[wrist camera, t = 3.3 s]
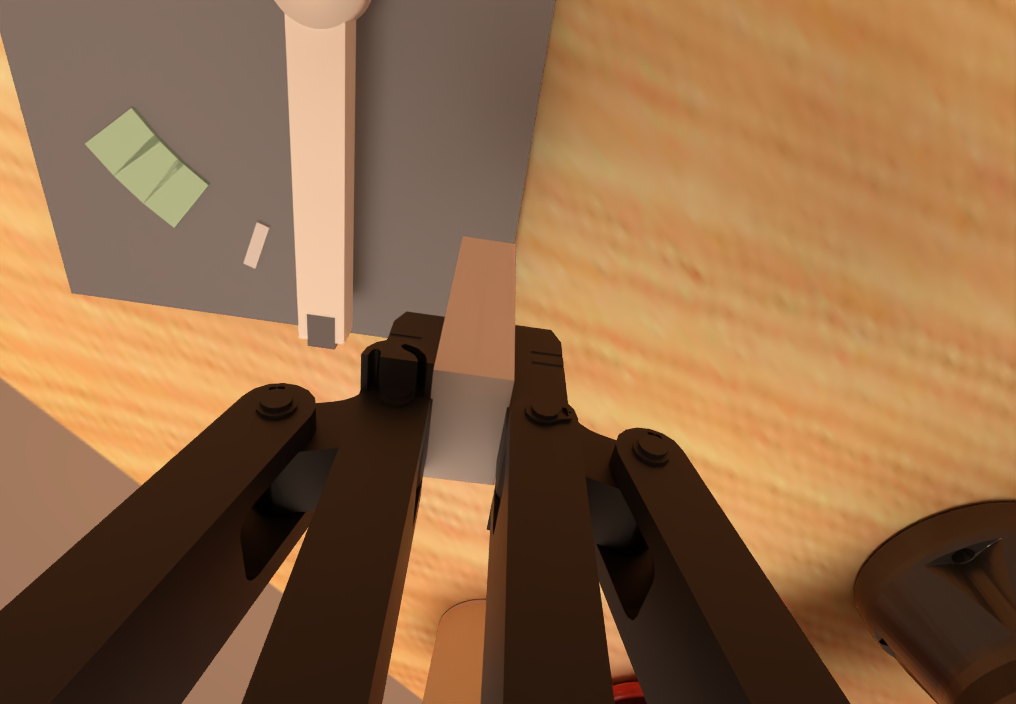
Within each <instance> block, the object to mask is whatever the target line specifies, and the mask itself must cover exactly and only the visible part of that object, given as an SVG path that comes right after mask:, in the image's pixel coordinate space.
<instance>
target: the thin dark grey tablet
mask: <svg viewBox="0 0 1016 704" xmlns="http://www.w3.org/2000/svg"><path fill="white" fill-rule="evenodd" d="M554 6H555V0H371V2H370V4H369V7H368V8H367V10H366V11H365V12H364V13H363V15H362V16H361V17H359V18H358V19H357V20H356V74H355V156H354V239H353V321H352V330H351V332H350V333H356V334H363V335H370V336H378V337H385V338H388V336H389V334H390V331H391V328H392V325H393V322H394V321H395V320H396V319H397V318H398V317H400V316H401V315H402V314H404V313H405V312H406V311H408V312H415V313H422V314H429V315H436V316H443V317H445V315H446V310H447V306H448V301H449V297H450V292H451V288H452V283H453V278H454V274H455V269H456V265H457V260H458V256H459V251H460V246H461V242H462V237H463V236H466V237H472V238H479V239H486V240H492V241H499V242H506V243H512V244H515V238H516V232H517V226H518V220H519V214H520V208H521V202H522V196H523V191H524V185H525V179H526V173H527V167H528V161H529V155H530V149H531V143H532V137H533V131H534V125H535V119H536V113H537V107H538V101H539V95H540V89H541V83H542V78H543V72H544V66H545V60H546V54H547V48H548V42H549V36H550V30H551V24H552V18H553V12H554ZM0 33H1V37H2V41H3V44H4V48H5V52H6V55H7V59H8V63H9V66H10V70H11V74H12V77H13V81H14V84H15V88H16V92H17V95H18V99H19V103H20V106H21V110H22V114H23V117H24V121H25V125H26V128H27V132H28V136H29V139H30V143H31V147H32V150H33V154H34V157H35V161H36V165H37V168H38V172H39V176H40V179H41V183H42V187H43V190H44V194H45V198H46V201H47V205H48V209H49V212H50V216H51V220H52V223H53V227H54V231H55V234H56V238H57V241H58V245H59V249H60V252H61V256H62V260H63V263H64V267H65V271H66V274H67V278H68V282H69V285H70V289H71V293H75V294H82V295H89V296H96V297H103V298H110V299H117V300H124V301H131V302H138V303H145V304H152V305H159V306H166V307H173V308H180V309H187V310H194V311H201V312H208V313H215V314H223V315H230V316H237V317H244V318H251V319H258V320H265V321H272V322H279V323H286V324H293V325H298V305H297V282H296V260H295V237H294V215H293V193H292V170H291V148H290V125H289V103H288V81H287V58H286V36H285V14H284V12H283V11H282V10H281V9H280V7H279V6H278V5H277V4H276V2H275V1H274V0H0Z"/></svg>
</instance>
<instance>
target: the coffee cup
mask: <svg viewBox="0 0 1016 704" xmlns="http://www.w3.org/2000/svg"><path fill="white" fill-rule="evenodd" d="M485 614H486V600H485V599H483V600H471V601H467V602H463V603H460V604H458V605H456V606H454V607H452V608H451V609H449V610H448V611H447V612H446V613H445V614H444V615H443V617H442V619H441V621H440V623H439V628H438V632H437V636H436V640H435V645H434V650H433V655H432V659H431V664H430V669H429V674H428V679H427V683H426V688H425V693H424V698H423V703H422V704H481V686H482V668H483V650H484V632H485Z"/></svg>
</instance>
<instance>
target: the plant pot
mask: <svg viewBox="0 0 1016 704" xmlns="http://www.w3.org/2000/svg"><path fill="white" fill-rule="evenodd" d="M612 687H613V694H614V702H615V704H647V702H646V700H645V697H644V695H643V692H642V690H641V687H640V685H639V682H627V683H621V684H617V685H613V686H612Z"/></svg>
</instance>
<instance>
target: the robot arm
mask: <svg viewBox="0 0 1016 704" xmlns="http://www.w3.org/2000/svg"><path fill="white" fill-rule="evenodd" d="M515 285H516V244H512V243H506V242H499V241H492V240H486V239H479V238H472V237H466V236H463V237H462V242H461V246H460V251H459V256H458V260H457V265H456V269H455V274H454V278H453V283H452V288H451V292H450V297H449V301H448V306H447V310H446V315H445V317H443V316H436V315H429V314H422V313H415V312H408V311H406V312H405V313H404V314H402V315H401V316H400V317H398V318H397V319H396V320H395V321H394V322H393V325H392V328H391V331H390V334H389V336H388V339H387V340H385V341H380V342H376V343H374V344H372V345H370V346H368V347H367V348H366V349H365V350H364V351H363V353H362V354H361V391H360V393H359V395H357V396H355V397H352V398H349V399H346V400H341V401H335V402H325V403H315V398H314V396H313V395H312V394H311V393H310V392H309V391H308V390H306V389H304V388H302V387H300V386H298V385H292V384H286V383H279V384H268V385H264V386H261V387H258V388H255V389H253V390H251V391H250V392H248V393H247V394H245V395H243V396H242V397H241V398H240V399H239V400H238V401H237V402H235V403H234V404H233V405H232V406H231V407H230V408H229V409H228V410H226V411H225V412H224V413H223V414H222V415H221V416H220V417H218V418H217V419H216V420H215V421H214V422H213V423H212V424H211V425H209V426H208V427H207V428H206V429H205V430H204V431H203V432H202V433H200V434H199V435H198V436H197V437H196V438H195V439H194V440H193V441H191V442H190V443H189V444H188V445H187V446H186V447H185V448H183V449H182V450H181V451H180V452H179V453H178V454H177V455H176V456H174V457H173V458H172V459H171V460H170V461H169V462H168V463H167V464H165V465H164V466H163V467H162V468H161V469H160V470H159V471H158V472H156V473H155V474H154V475H153V476H152V477H151V478H150V479H148V480H147V481H146V482H145V483H144V484H143V485H142V486H141V487H139V488H138V489H137V490H136V491H135V492H134V493H133V494H132V495H130V496H129V497H128V498H127V499H126V500H125V501H124V502H123V503H121V504H120V505H119V506H118V507H117V508H116V509H115V510H113V511H112V512H111V513H110V514H109V515H108V516H107V517H106V518H105V519H103V520H102V521H101V522H100V523H99V524H98V525H97V526H95V527H94V528H93V529H92V530H91V531H90V532H89V533H88V534H86V535H85V536H84V537H83V538H82V539H81V540H80V541H78V542H77V543H76V544H75V545H74V546H73V547H72V548H71V549H69V550H68V551H67V552H66V553H65V554H64V555H63V556H62V557H61V558H59V559H58V560H57V561H56V562H55V563H54V564H53V565H51V566H50V567H49V568H48V569H47V570H46V571H45V572H43V573H42V574H41V575H40V576H39V577H38V578H37V579H36V580H34V581H33V582H32V583H31V584H30V585H29V586H28V587H27V588H25V589H24V590H23V591H22V592H21V593H20V594H19V595H18V596H16V597H15V598H14V599H13V600H12V601H11V602H10V603H9V604H7V605H6V606H5V607H4V608H3V609H2V610H1V611H0V704H182V702H183V701H184V699H185V698H186V697H187V695H188V694H189V693H190V691H191V690H192V688H193V687H194V685H195V684H196V683H197V681H198V680H199V678H200V677H201V676H202V674H203V673H204V672H205V670H206V669H207V667H208V666H209V665H210V663H211V662H212V660H213V659H214V657H215V656H216V655H217V654H218V652H219V651H220V649H221V648H222V647H223V645H224V644H225V642H226V641H227V640H228V638H229V637H230V635H231V634H232V633H233V631H234V630H235V628H236V627H237V626H238V624H239V623H240V621H241V620H242V619H243V617H244V616H245V615H246V613H247V612H248V610H249V609H250V608H251V606H252V604H253V603H254V602H255V601H256V599H257V598H258V596H259V595H260V594H261V592H262V591H263V589H264V588H265V587H266V585H267V584H268V582H269V581H270V580H271V578H272V577H273V576H274V574H275V573H276V571H277V570H278V569H279V567H280V566H281V564H282V563H283V562H284V560H285V559H286V557H287V556H288V555H289V553H290V552H291V550H292V549H293V548H294V546H295V545H296V543H297V542H298V541H299V539H300V538H301V537H302V535H303V534H304V532H305V531H306V530H307V528H308V530H307V533H306V535H305V538H304V541H303V543H302V546H301V549H300V551H299V554H298V556H297V559H296V562H295V564H294V567H293V570H292V572H291V575H290V577H289V580H288V583H287V585H286V588H285V591H284V593H283V596H282V599H281V601H280V604H279V607H278V609H277V612H276V615H275V617H274V620H273V623H272V625H271V628H270V630H269V633H268V635H267V638H266V641H265V643H264V646H263V649H262V652H261V654H260V656H259V659H258V662H257V664H256V667H255V670H254V672H253V675H252V678H251V680H250V683H249V686H248V688H247V691H246V694H245V696H244V699H243V701H242V704H382V701H383V695H384V690H385V685H386V679H387V674H388V669H389V663H390V658H391V653H392V647H393V642H394V637H395V631H396V626H397V621H398V615H399V610H400V604H401V599H402V594H403V588H404V583H405V578H406V572H407V567H408V561H409V556H410V551H411V545H412V540H413V535H414V529H415V524H416V519H417V513H418V508H419V502H420V497H421V488H422V478H423V477H431V478H439V479H447V480H456V481H464V482H472V483H480V484H489V485H494V482H495V477H496V482H495V490H494V495H493V500H492V505H491V510H490V515H489V520H488V525H487V530H490V543H489V561H488V579H487V596H486V614H485V632H484V650H483V668H482V686H481V704H615V702H614V694H613V687H612V679H611V671H610V663H609V656H608V648H607V640H606V633H605V625H604V617H603V609H602V602H601V594H600V586H599V583H600V585H601V588H602V590H603V593H604V595H605V598H606V600H607V603H608V605H609V608H610V611H611V613H612V616H613V618H614V621H615V623H616V626H617V628H618V631H619V634H620V636H621V639H622V641H623V644H624V646H625V649H626V651H627V654H628V657H629V659H630V662H631V664H632V667H633V669H634V672H635V674H636V677H637V679H638V682H639V685H640V687H641V690H642V692H643V695H644V697H645V700H646V702H647V704H850V702H849V701H848V699H847V698H846V696H845V695H844V693H843V692H842V690H841V689H840V687H839V686H838V684H837V683H836V681H835V680H834V678H833V677H832V675H831V674H830V672H829V671H828V669H827V668H826V666H825V665H824V663H823V662H822V660H821V659H820V657H819V656H818V654H817V653H816V651H815V649H814V648H813V646H812V645H811V643H810V642H809V640H808V639H807V637H806V636H805V634H804V633H803V631H802V630H801V628H800V627H799V625H798V624H797V622H796V621H795V619H794V618H793V616H792V615H791V613H790V612H789V610H788V609H787V607H786V606H785V604H784V603H783V601H782V600H781V598H780V597H779V595H778V593H777V592H776V590H775V589H774V587H773V586H772V584H771V583H770V581H769V580H768V578H767V577H766V575H765V574H764V572H763V571H762V569H761V568H760V566H759V565H758V563H757V562H756V560H755V559H754V557H753V556H752V554H751V553H750V551H749V550H748V548H747V547H746V545H745V544H744V542H743V541H742V539H741V538H740V536H739V534H738V533H737V531H736V530H735V528H734V527H733V525H732V524H731V522H730V521H729V519H728V518H727V516H726V515H725V513H724V512H723V510H722V509H721V507H720V506H719V504H718V503H717V501H716V500H715V498H714V497H713V495H712V494H711V492H710V491H709V489H708V488H707V486H706V485H705V483H704V482H703V480H702V479H701V477H700V475H699V474H698V472H697V471H696V469H695V468H694V466H693V465H692V463H691V462H690V460H689V459H688V457H687V456H686V454H685V453H684V451H683V450H682V449H681V448H680V447H679V445H678V444H677V443H676V442H675V441H674V440H672V439H670V438H669V437H667V436H666V435H664V434H662V433H660V432H657V431H654V430H651V429H645V428H632V429H627V430H625V431H623V432H622V433H621V434H619V435H618V438H617V440H614V439H611V438H608V437H605V436H603V435H600V434H597V433H595V432H593V431H591V430H589V429H587V428H586V427H584V426H583V425H581V424H580V423H579V422H578V418H577V415H576V413H575V410H574V409H573V408H572V407H571V406H570V405H569V404H568V400H567V391H566V382H565V373H564V368H563V366H564V365H563V358H562V347H561V342H560V341H559V339H558V338H557V337H556V336H555V334H554V333H553V332H552V330H546V329H539V328H532V327H525V326H518V325H515ZM854 600H855V604H856V607H857V609H858V611H859V613H860V615H861V617H862V619H863V620H864V622H865V624H866V626H867V628H868V630H869V632H870V633H871V635H872V636H873V638H874V639H875V640H876V642H877V643H878V644H879V645H880V646H881V647H882V648H883V649H884V650H885V651H886V652H887V653H889V654H890V655H892V656H893V657H895V658H896V660H897V661H898V662H899V663H900V665H901V666H902V667H903V668H904V669H905V671H906V672H907V673H908V674H909V675H910V676H911V677H912V678H913V679H914V680H915V681H916V682H917V684H918V685H919V686H920V687H921V688H922V689H923V690H924V691H925V692H926V693H927V694H928V695H929V696H930V697H931V698H932V699H933V700H934V701H935V702H936V703H937V704H1016V502H998V503H987V504H980V505H974V506H969V507H965V508H961V509H957V510H953V511H950V512H947V513H944V514H941V515H938V516H935V517H933V518H930V519H928V520H925V521H923V522H921V523H919V524H917V525H915V526H913V527H911V528H909V529H907V530H905V531H904V532H902V533H900V534H899V535H897V536H896V537H894V538H893V539H891V540H890V541H889V542H887V543H886V544H885V545H884V546H882V547H881V548H880V549H879V550H878V551H877V552H876V553H875V554H874V555H873V556H872V557H871V558H870V559H869V560H868V561H867V563H866V564H865V565H864V567H863V568H862V570H861V572H860V574H859V576H858V578H857V580H856V583H855V588H854Z"/></svg>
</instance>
